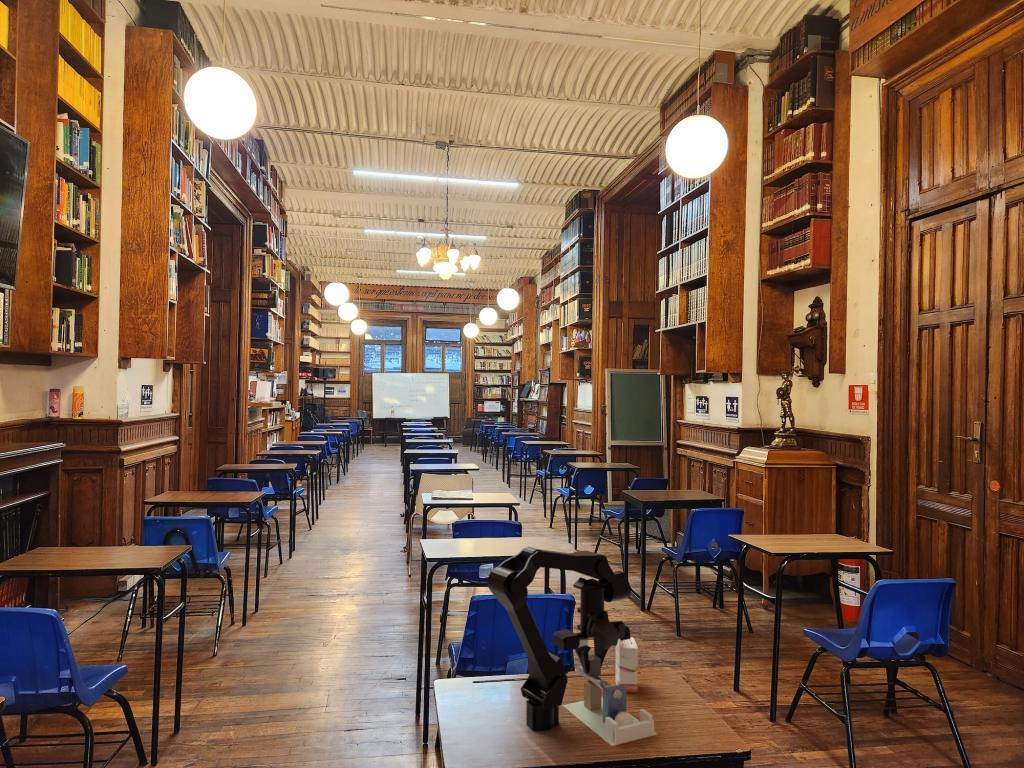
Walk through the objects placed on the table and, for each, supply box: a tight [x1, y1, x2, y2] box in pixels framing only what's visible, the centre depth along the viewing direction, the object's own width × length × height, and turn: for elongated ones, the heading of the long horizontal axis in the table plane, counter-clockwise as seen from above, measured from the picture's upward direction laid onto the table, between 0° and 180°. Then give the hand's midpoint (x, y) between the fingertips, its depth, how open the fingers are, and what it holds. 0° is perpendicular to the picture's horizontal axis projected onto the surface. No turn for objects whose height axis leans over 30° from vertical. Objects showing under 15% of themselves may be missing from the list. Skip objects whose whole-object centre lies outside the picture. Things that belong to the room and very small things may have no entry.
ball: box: [614, 711, 633, 727], centre depth 146 cm, size 4×4×4 cm
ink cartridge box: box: [614, 637, 639, 693], centre depth 171 cm, size 9×5×15 cm, turn 178°
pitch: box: [561, 680, 659, 747], centre depth 152 cm, size 12×21×7 cm, turn 25°
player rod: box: [577, 653, 627, 723], centre depth 156 cm, size 5×16×11 cm, turn 25°
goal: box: [605, 708, 655, 746], centre depth 144 cm, size 10×4×4 cm, turn 115°
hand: (592, 671), depth 158 cm, fingers closed on player rod, 3 cm apart
